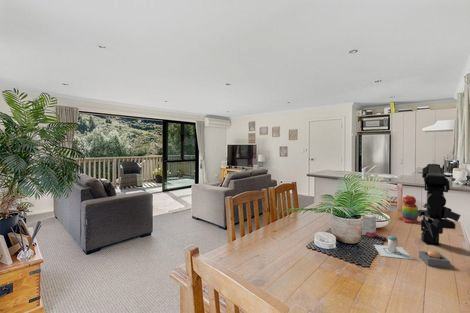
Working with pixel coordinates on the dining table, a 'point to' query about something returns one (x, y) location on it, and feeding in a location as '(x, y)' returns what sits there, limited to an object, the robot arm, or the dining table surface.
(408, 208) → the stacking bear
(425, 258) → the button housing
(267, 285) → the dining table surface
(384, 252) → the paper sheet
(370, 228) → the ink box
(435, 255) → the button
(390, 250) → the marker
